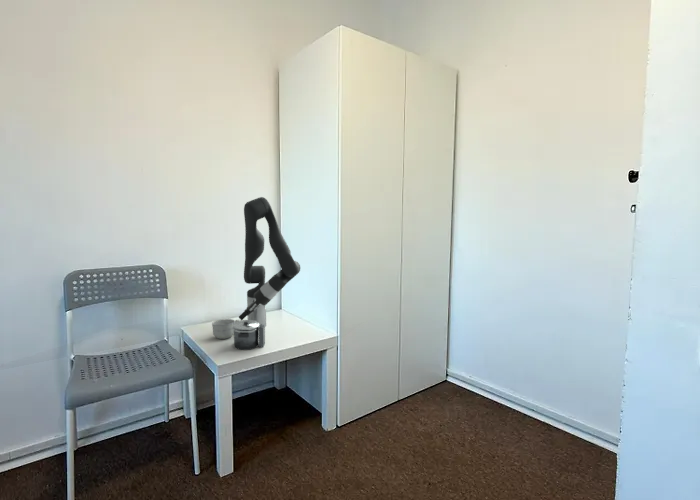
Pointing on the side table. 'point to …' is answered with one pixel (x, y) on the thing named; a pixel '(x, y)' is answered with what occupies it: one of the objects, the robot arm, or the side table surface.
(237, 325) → the lid
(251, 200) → the robot arm
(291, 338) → the side table surface
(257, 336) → the pot
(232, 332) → the teacup
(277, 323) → the side table surface
